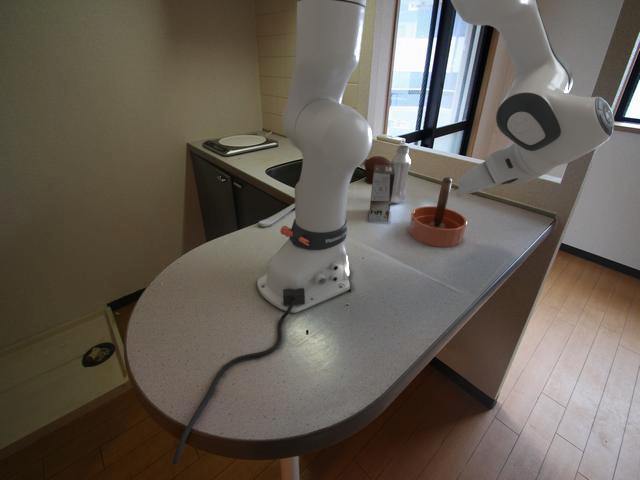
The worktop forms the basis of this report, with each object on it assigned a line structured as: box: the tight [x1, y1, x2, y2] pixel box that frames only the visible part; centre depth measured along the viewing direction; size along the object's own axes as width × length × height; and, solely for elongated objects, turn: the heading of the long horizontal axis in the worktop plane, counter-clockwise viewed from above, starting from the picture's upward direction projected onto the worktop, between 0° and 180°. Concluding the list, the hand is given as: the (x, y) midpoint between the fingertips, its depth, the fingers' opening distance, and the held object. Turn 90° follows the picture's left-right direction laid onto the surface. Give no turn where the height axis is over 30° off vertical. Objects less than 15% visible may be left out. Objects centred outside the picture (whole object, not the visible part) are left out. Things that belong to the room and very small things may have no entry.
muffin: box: [363, 155, 392, 184], centre depth 132 cm, size 12×11×10 cm
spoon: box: [258, 202, 295, 228], centre depth 109 cm, size 35×8×3 cm, turn 144°
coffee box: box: [368, 165, 395, 223], centre depth 100 cm, size 9×6×16 cm
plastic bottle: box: [390, 144, 412, 205], centre depth 110 cm, size 6×7×20 cm
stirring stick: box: [429, 176, 453, 229], centre depth 89 cm, size 4×4×17 cm
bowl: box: [408, 205, 468, 248], centre depth 93 cm, size 15×15×6 cm
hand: (470, 190), depth 80 cm, fingers open, 8 cm apart
